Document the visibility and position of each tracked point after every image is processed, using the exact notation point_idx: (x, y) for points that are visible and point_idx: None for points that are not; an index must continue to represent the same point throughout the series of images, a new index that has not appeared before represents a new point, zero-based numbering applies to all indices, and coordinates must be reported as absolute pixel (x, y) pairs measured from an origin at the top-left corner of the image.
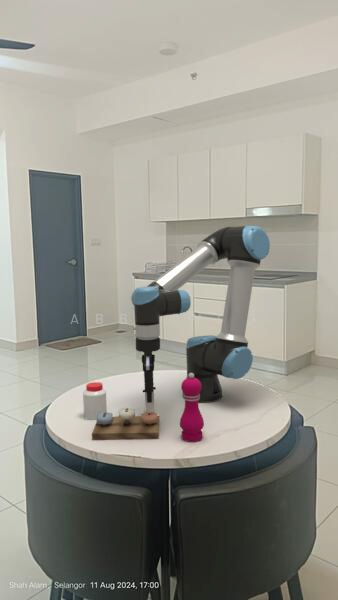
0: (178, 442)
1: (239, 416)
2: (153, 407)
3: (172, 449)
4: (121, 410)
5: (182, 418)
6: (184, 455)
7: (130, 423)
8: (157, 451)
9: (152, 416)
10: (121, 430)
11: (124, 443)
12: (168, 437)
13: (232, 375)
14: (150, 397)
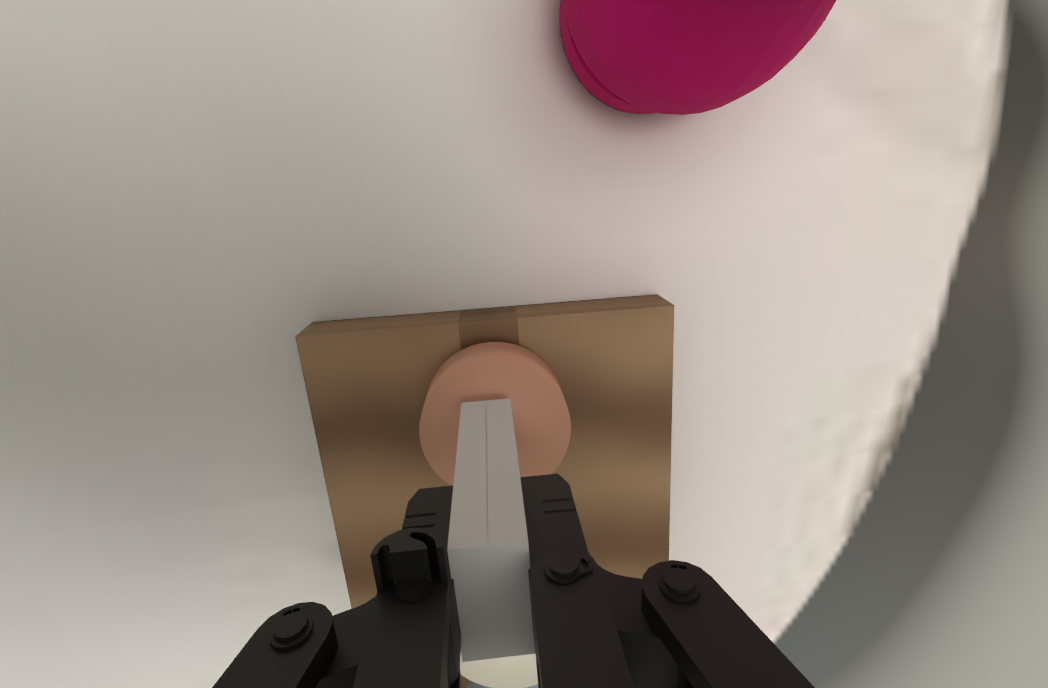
0: (730, 138)
1: None
2: (511, 425)
3: (844, 179)
4: (514, 671)
5: (773, 65)
6: (957, 82)
7: None
8: (859, 283)
9: (549, 397)
10: (623, 560)
11: (712, 497)
12: (632, 224)
13: None
14: (580, 528)
